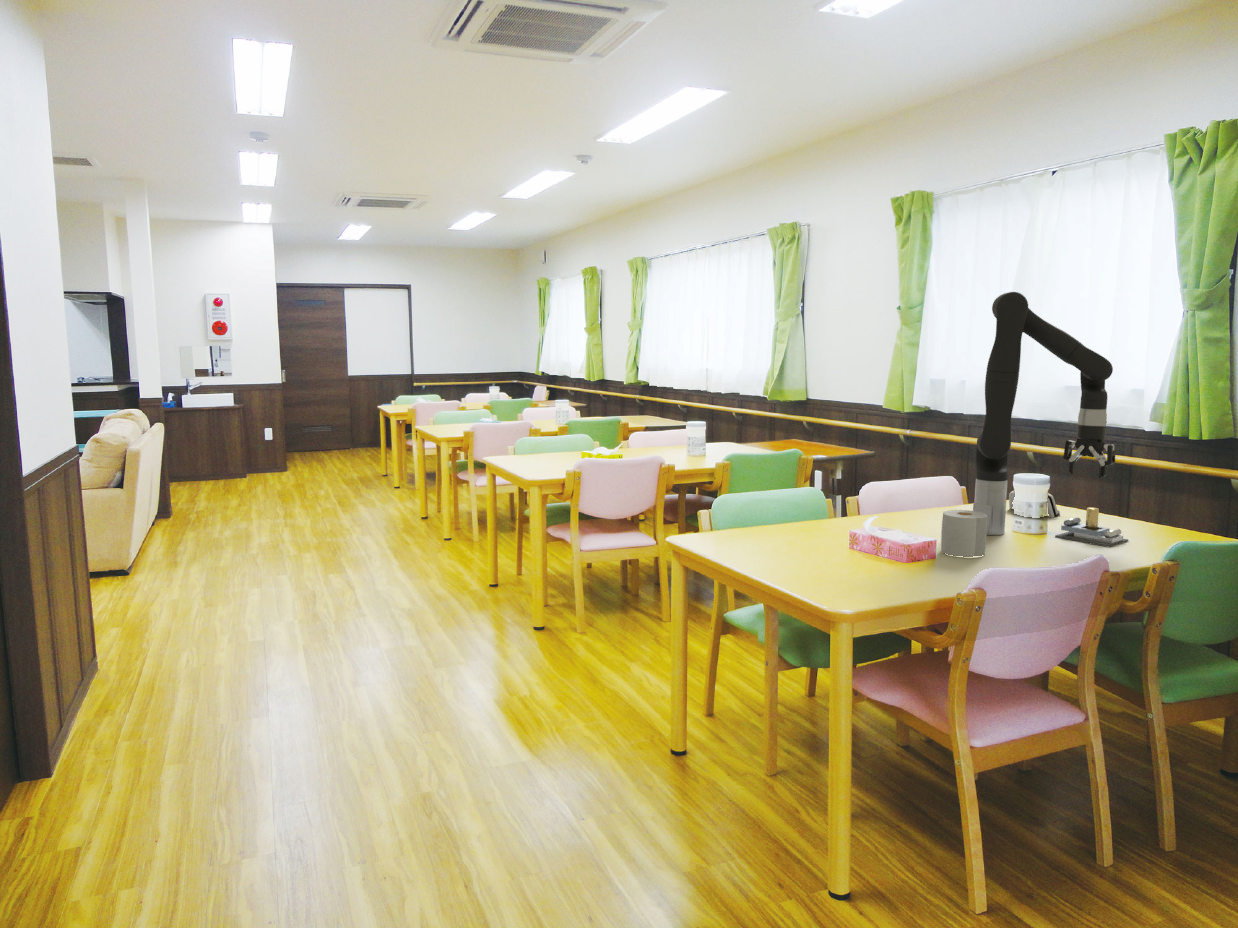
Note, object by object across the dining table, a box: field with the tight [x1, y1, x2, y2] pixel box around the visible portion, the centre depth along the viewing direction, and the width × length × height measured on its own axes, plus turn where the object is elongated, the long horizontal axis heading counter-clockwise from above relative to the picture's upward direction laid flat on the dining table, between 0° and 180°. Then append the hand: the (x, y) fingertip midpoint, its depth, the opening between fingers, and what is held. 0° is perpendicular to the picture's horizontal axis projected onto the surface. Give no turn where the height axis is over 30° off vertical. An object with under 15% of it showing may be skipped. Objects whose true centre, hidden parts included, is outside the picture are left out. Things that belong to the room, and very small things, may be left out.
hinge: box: [1008, 489, 1061, 518], centre depth 290 cm, size 17×5×10 cm, turn 29°
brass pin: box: [1085, 507, 1100, 530], centre depth 251 cm, size 3×3×9 cm
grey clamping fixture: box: [1060, 516, 1124, 544], centre depth 251 cm, size 7×15×5 cm, turn 35°
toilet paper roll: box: [940, 509, 988, 557], centre depth 236 cm, size 12×12×12 cm
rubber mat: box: [1054, 531, 1129, 548], centre depth 251 cm, size 12×16×1 cm
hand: (1087, 475), depth 252 cm, fingers open, 8 cm apart
